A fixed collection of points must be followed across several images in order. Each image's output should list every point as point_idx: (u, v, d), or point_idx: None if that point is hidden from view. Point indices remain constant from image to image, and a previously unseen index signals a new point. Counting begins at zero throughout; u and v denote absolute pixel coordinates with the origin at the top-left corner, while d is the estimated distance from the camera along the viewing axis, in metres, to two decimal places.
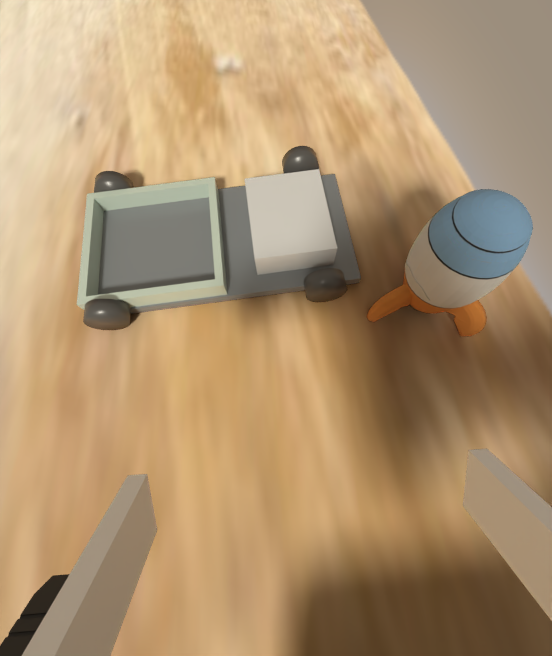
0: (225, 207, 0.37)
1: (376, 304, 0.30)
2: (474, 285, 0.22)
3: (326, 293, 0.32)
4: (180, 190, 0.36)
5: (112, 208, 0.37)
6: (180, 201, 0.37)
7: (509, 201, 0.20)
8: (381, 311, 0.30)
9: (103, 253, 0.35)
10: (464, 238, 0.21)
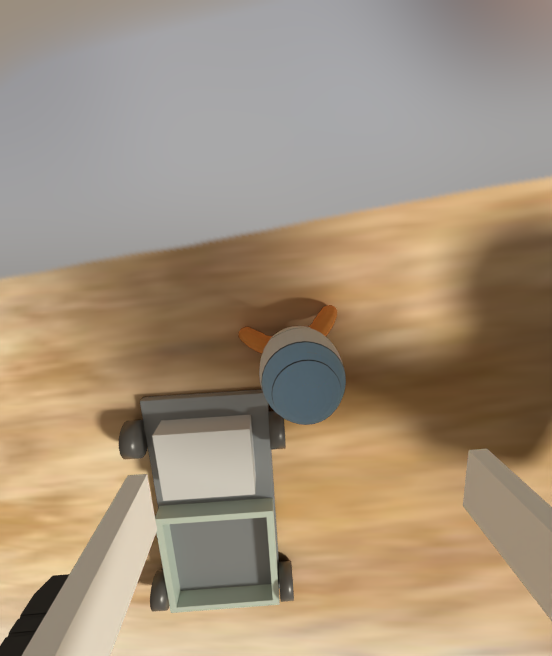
0: (180, 500, 0.39)
1: None
2: None
3: None
4: (167, 543, 0.38)
5: (178, 585, 0.42)
6: (171, 535, 0.40)
7: (303, 394, 0.22)
8: None
9: (225, 585, 0.42)
10: (322, 419, 0.24)
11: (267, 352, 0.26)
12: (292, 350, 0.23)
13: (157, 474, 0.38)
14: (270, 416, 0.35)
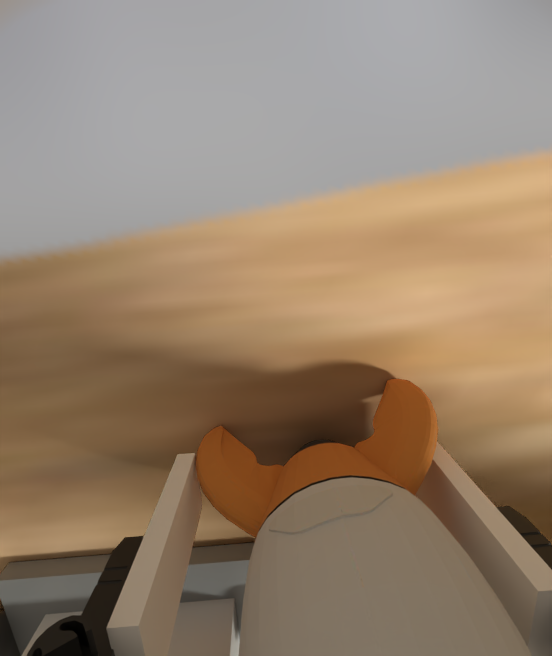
0: None
1: None
2: None
3: None
4: None
5: None
6: None
7: None
8: None
9: None
10: None
11: None
12: None
13: None
14: None
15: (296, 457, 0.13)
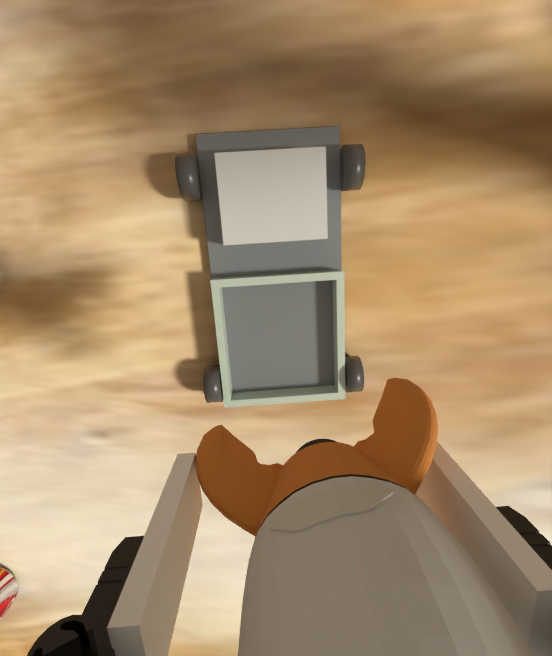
0: (236, 271, 0.34)
1: None
2: None
3: None
4: (222, 317, 0.34)
5: (230, 385, 0.38)
6: (225, 318, 0.36)
7: None
8: None
9: (282, 386, 0.38)
10: None
11: None
12: None
13: (212, 235, 0.33)
14: None
15: (296, 456, 0.13)
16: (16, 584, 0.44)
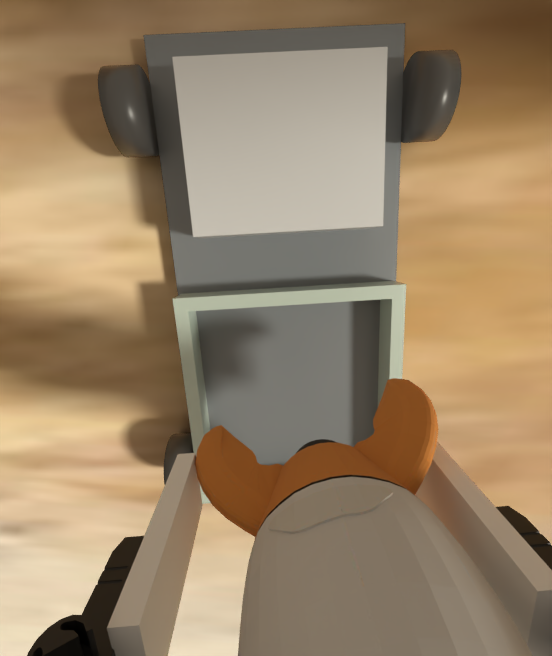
0: (220, 281, 0.20)
1: None
2: None
3: None
4: (196, 360, 0.20)
5: None
6: (202, 359, 0.22)
7: None
8: None
9: None
10: None
11: None
12: None
13: (177, 221, 0.19)
14: None
15: (296, 456, 0.13)
16: None
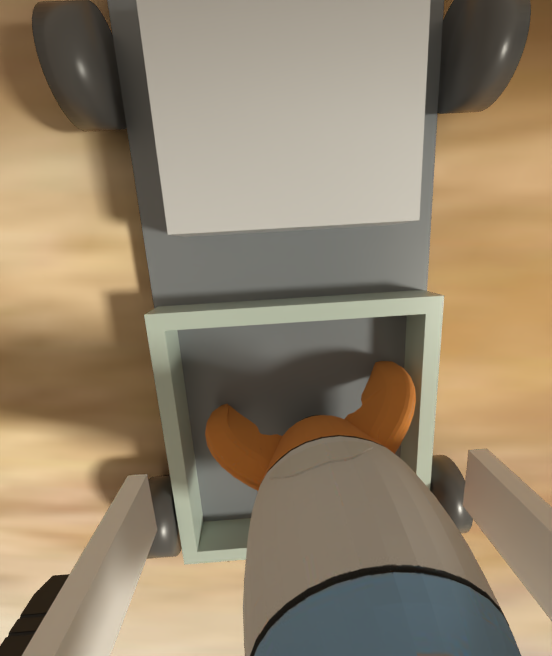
0: (207, 291, 0.16)
1: None
2: None
3: None
4: (176, 391, 0.16)
5: (199, 508, 0.19)
6: (186, 386, 0.17)
7: None
8: None
9: None
10: None
11: (265, 563, 0.09)
12: (356, 625, 0.06)
13: (152, 215, 0.15)
14: None
15: (293, 426, 0.15)
16: None
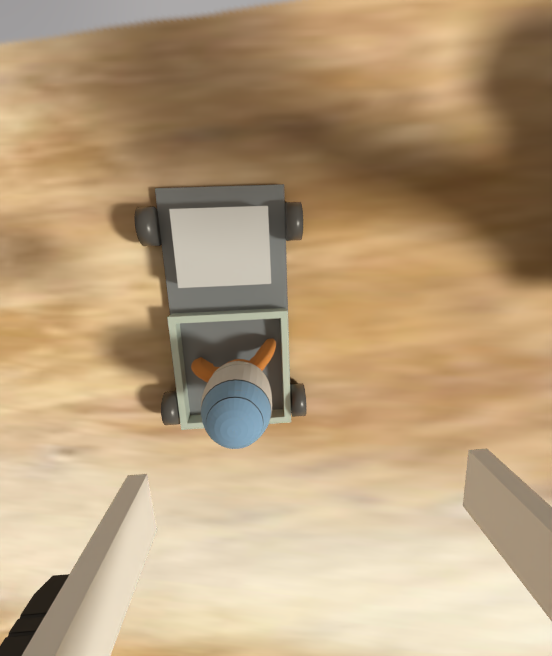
0: (193, 307, 0.38)
1: None
2: None
3: None
4: (179, 349, 0.38)
5: (188, 408, 0.41)
6: (183, 349, 0.39)
7: (228, 425, 0.27)
8: None
9: None
10: (249, 444, 0.29)
11: (206, 387, 0.31)
12: (223, 387, 0.28)
13: (170, 276, 0.37)
14: (287, 202, 0.35)
15: None
16: None
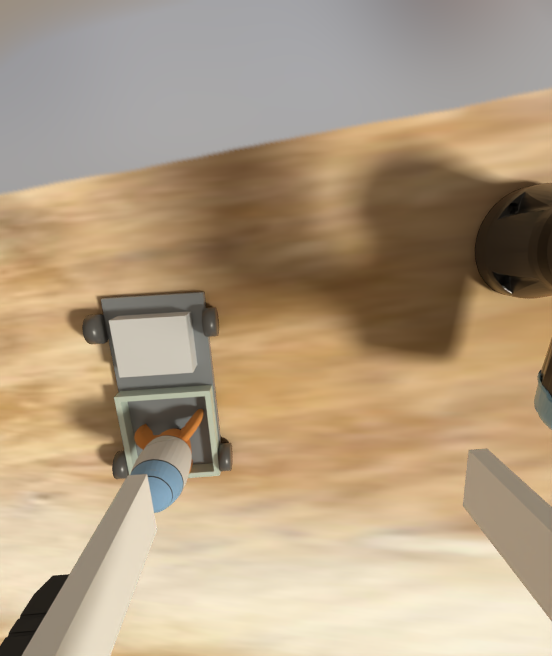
0: (136, 386, 0.48)
1: None
2: (185, 481, 0.40)
3: (216, 321, 0.45)
4: (125, 420, 0.47)
5: None
6: (130, 417, 0.49)
7: None
8: (189, 472, 0.48)
9: None
10: (163, 509, 0.38)
11: (135, 462, 0.40)
12: (143, 467, 0.38)
13: (117, 363, 0.47)
14: (204, 309, 0.44)
15: (162, 432, 0.46)
16: None
